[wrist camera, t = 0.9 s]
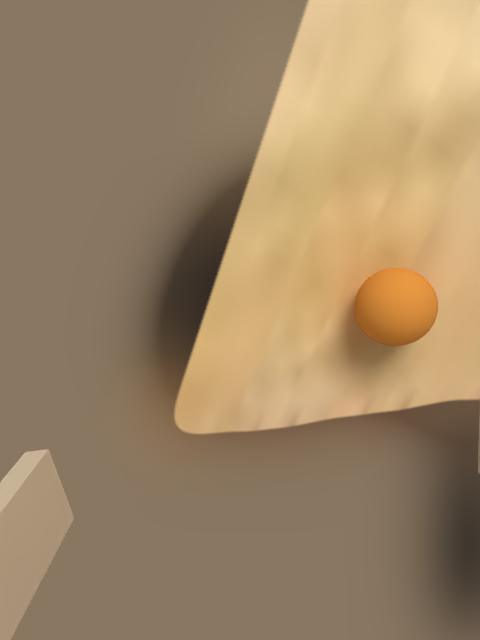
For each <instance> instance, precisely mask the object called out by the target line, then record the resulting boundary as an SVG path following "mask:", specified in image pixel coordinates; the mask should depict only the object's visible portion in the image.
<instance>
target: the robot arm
mask: <svg viewBox="0 0 480 640" xmlns="http://www.w3.org/2000/svg"><path fill="white" fill-rule="evenodd" d="M478 472H479V474H480V419H479V457H478ZM73 519H74V517H73V514H72V511H71V509H70V506H69V503H68V501H67V498H66V495H65V492H64V490H63V487H62V485H61V482H60V479H59V476H58V474H57V471H56V468H55V466H54V463H53V460H52V458H51V455H50V452H49V450H48V449H47V450H39V451H32V452H25V453H24V454H23V456H22V457H21V458H20V459H19V461H18V462H17V463H16V464H15V466H13V468H12V469H11V470H10V471H9V473H8V474H7V475H6V476H5V477H4V479H3V480H2V481H1V482H0V640H10V639H11V638H12V636H13V634H14V632H15V630H16V628H17V626H18V624H19V622H20V620H21V618H22V617H23V615H24V613H25V611H26V609H27V607H28V605H29V603H30V601H31V599H32V597H33V595H34V594H35V592H36V590H37V588H38V586H39V584H40V582H41V580H42V578H43V576H44V574H45V572H46V570H47V569H48V567H49V565H50V563H51V561H52V559H53V557H54V555H55V553H56V552H57V550H58V548H59V546H60V544H61V542H62V540H63V538H64V536H65V534H66V532H67V531H68V529H69V527H70V525H71V523H72V521H73Z"/></svg>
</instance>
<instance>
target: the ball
mask: <svg viewBox="0 0 480 640" xmlns="http://www.w3.org/2000/svg"><path fill="white" fill-rule="evenodd" d="M437 312H438V301H437V296H436V293H435V291H434V289H433V287H432V286H431V284H430V283H429V282H428V281H427V280H426V279H425V278H424V277H423V276H421V275H420V274H418V273H416V272H414V271H411V270H408V269H404V268H390V269H385V270H382V271H380V272H377V273H376V274H374V275H372V276H371V277H369V278H368V279H367V280H366V281H365V282H364V283H363V285H362V286H361V288H360V289H359V291H358V293H357V296H356V300H355V315H356V318H357V321H358V323H359V325H360V327H361V328H362V330H363V331H364V332H365V333H366V334H367V335H368V336H369V337H370V338H372V339H373V340H375V341H377V342H379V343H382V344H386V345H392V346H400V345H406V344H410V343H412V342H415V341H417V340H419V339H420V338H422V337H423V336H424V335H425V334H426V333H427V332H428V331H429V330H430V329H431V327H432V326H433V324H434V322H435V319H436V316H437Z"/></svg>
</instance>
